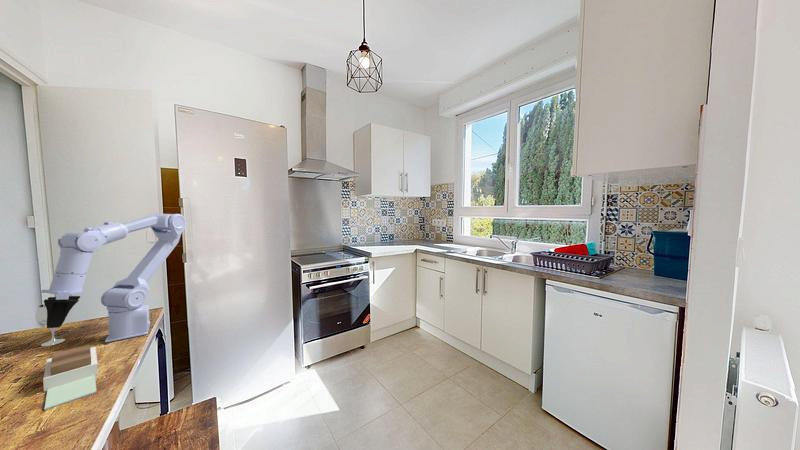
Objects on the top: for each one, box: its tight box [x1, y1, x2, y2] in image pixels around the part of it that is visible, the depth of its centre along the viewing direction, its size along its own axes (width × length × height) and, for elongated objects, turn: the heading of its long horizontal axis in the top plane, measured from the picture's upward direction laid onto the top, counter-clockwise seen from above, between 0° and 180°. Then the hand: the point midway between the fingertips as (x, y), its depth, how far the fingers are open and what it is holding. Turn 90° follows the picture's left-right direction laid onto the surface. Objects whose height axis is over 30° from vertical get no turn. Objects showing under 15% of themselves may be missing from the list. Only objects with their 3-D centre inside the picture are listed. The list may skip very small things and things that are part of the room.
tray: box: [42, 346, 99, 392], centre depth 65 cm, size 12×8×3 cm, turn 51°
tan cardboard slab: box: [50, 344, 91, 376], centre depth 65 cm, size 9×6×2 cm, turn 51°
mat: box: [43, 375, 97, 411], centre depth 59 cm, size 9×7×1 cm
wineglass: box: [35, 303, 68, 347], centre depth 79 cm, size 6×6×12 cm
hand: (55, 325), depth 69 cm, fingers open, 7 cm apart
